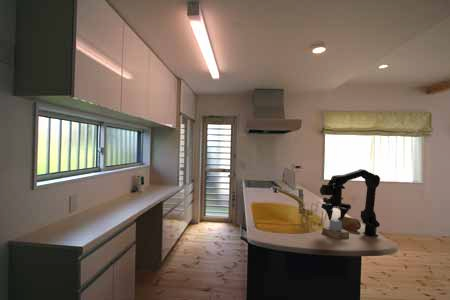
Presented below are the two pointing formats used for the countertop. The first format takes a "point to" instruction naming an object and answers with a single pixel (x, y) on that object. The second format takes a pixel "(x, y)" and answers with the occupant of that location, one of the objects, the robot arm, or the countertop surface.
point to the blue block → (335, 225)
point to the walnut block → (335, 233)
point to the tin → (350, 223)
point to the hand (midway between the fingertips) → (335, 219)
